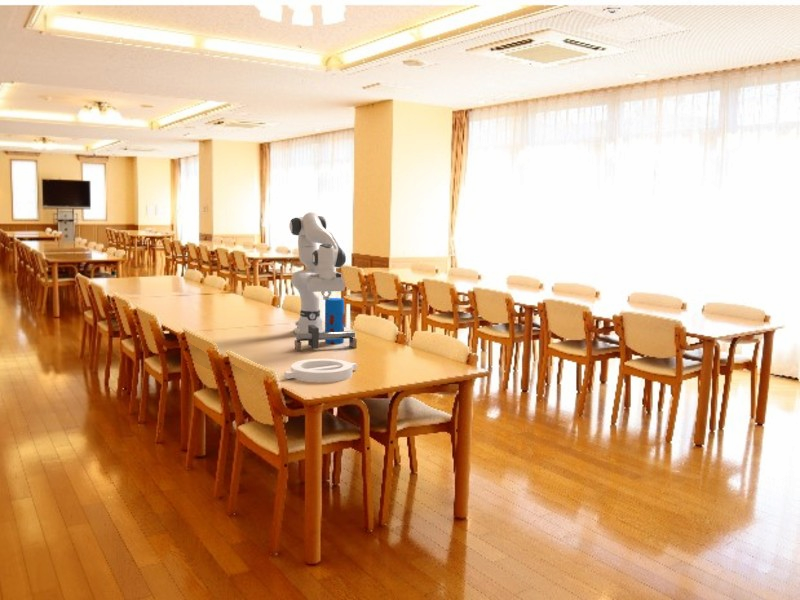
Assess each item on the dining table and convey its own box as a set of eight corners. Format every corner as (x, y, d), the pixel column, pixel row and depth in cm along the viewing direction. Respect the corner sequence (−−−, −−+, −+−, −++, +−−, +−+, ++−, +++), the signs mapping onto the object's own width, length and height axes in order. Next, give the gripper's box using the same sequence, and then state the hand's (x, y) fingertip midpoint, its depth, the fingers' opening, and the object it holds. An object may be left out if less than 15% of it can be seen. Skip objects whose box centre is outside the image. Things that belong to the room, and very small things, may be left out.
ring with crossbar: (282, 381, 295) (282, 370, 295) (302, 366, 323) (302, 357, 322) (343, 385, 290) (343, 374, 290) (358, 370, 318) (359, 360, 317)
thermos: (340, 344, 377) (340, 300, 374) (322, 343, 379) (322, 299, 376) (346, 341, 388) (346, 298, 385) (328, 340, 390) (328, 297, 387)
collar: (308, 344, 367) (308, 325, 366) (313, 344, 368) (313, 324, 367) (313, 348, 357) (313, 328, 355) (318, 348, 358) (318, 328, 357)
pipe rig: (294, 349, 362) (294, 332, 361) (352, 345, 375) (352, 329, 373) (297, 351, 356) (297, 334, 355) (356, 348, 368) (356, 331, 367)
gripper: (308, 275, 354) (308, 300, 355) (345, 274, 361) (345, 299, 363) (306, 274, 359) (305, 299, 361) (342, 273, 367) (342, 298, 369)
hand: (326, 299), depth 362 cm, fingers closed
